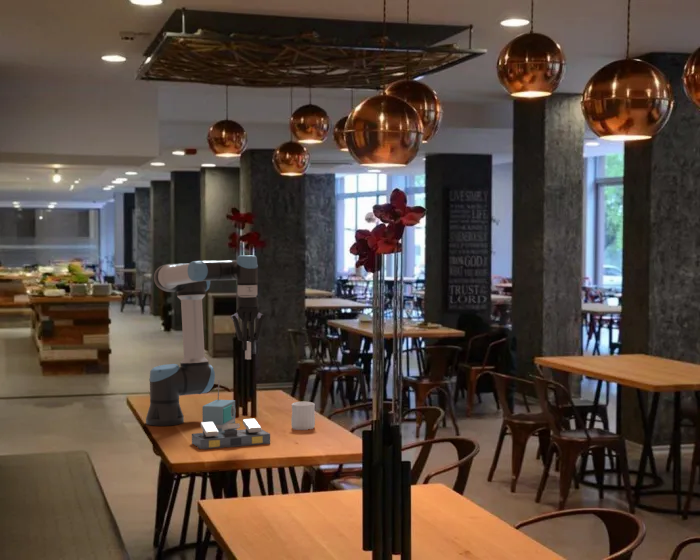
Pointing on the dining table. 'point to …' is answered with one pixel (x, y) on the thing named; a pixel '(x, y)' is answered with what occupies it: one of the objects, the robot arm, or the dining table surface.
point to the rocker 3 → (251, 425)
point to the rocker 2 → (231, 426)
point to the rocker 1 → (209, 429)
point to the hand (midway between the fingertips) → (248, 358)
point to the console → (230, 439)
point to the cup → (303, 415)
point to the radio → (219, 412)
